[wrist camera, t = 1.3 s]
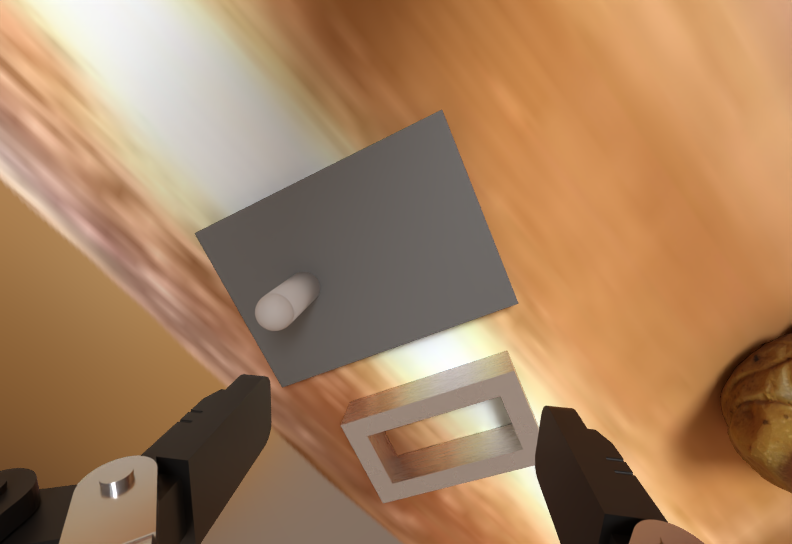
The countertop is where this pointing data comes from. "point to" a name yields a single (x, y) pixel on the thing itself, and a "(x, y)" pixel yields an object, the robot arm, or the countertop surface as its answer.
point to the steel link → (451, 458)
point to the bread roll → (763, 411)
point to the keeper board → (361, 255)
